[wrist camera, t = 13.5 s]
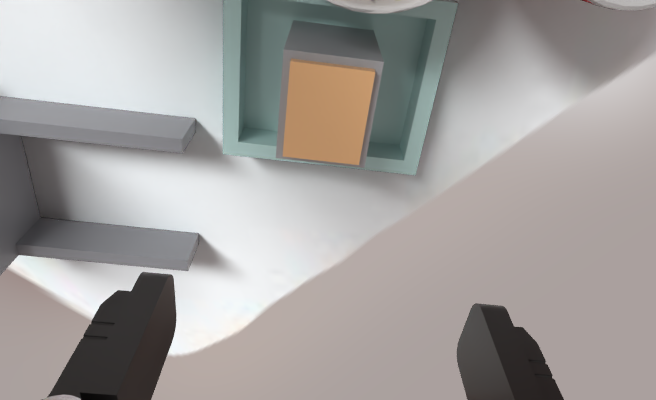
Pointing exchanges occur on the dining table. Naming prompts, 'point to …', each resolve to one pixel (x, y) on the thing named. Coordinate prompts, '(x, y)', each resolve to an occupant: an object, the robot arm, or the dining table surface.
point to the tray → (394, 91)
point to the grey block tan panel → (328, 94)
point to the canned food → (624, 4)
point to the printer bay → (74, 236)
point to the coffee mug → (379, 5)
